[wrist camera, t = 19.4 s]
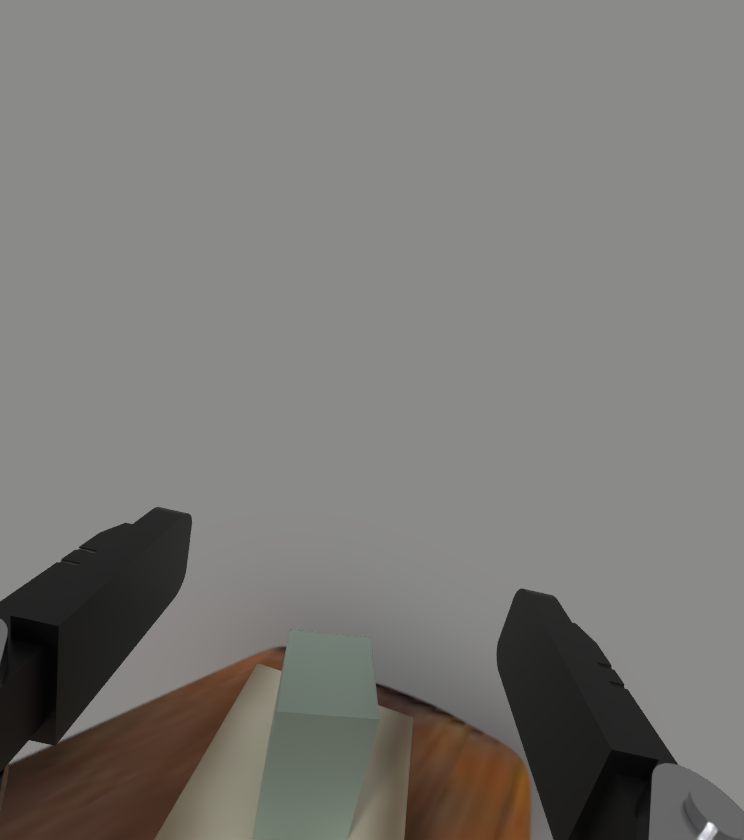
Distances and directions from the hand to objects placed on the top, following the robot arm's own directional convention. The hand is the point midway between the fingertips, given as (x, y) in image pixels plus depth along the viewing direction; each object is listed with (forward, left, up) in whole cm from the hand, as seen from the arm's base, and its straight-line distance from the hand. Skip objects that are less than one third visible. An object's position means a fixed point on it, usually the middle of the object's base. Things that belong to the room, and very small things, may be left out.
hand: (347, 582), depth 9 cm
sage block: (0, +11, -24) cm, 26 cm away
